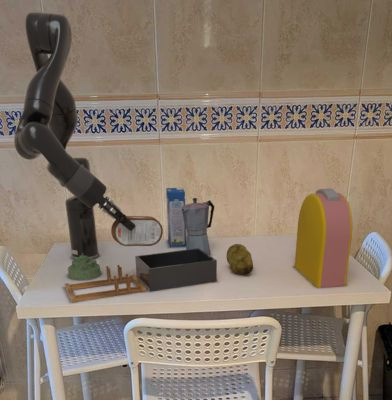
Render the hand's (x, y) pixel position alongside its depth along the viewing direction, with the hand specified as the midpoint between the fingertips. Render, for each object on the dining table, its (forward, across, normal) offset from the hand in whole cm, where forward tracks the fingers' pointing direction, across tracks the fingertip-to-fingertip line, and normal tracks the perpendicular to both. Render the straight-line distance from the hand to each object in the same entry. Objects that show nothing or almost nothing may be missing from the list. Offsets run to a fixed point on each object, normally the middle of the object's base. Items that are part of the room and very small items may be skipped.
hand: (131, 226), depth 144 cm
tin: (+5, 0, +3) cm, 6 cm away
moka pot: (+33, +22, -8) cm, 41 cm away
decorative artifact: (+4, +16, +22) cm, 27 cm away
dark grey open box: (+22, 0, +3) cm, 22 cm away
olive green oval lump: (+37, -1, -12) cm, 39 cm away
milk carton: (+32, +39, -7) cm, 51 cm away
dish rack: (+6, 0, +19) cm, 20 cm away
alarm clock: (+52, -15, -27) cm, 60 cm away
